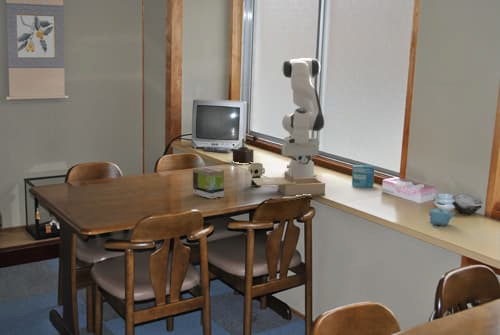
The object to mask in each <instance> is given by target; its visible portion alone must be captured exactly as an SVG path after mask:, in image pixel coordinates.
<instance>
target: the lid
mask: <svg viewBox="0 0 500 335" xmlns="http://www.w3.org/2000/svg"><path fill="white" fill-rule="evenodd" d="M251 180H253V181H254V182H255V183H256V184H257V185H258V186H259V187H261V186H278V185H286V184H296V183H295V182H294V176H292V175H291V174H290V173H288V172H285V171H284V176H280V177H279V176H278V177H261V178H252V177H251Z"/></svg>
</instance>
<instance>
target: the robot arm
mask: <svg viewBox="0 0 500 335" xmlns="http://www.w3.org/2000/svg"><path fill="white" fill-rule="evenodd" d="M281 70H282V73H283V76H284V77H285V78H288V79H289V78H290V88H291V89H292V101H293V104H294V105H295V106H297V107H298V108H296V109H295V110H294V112H292V113H288V114H285V115H284V116H283V118H282V121H281V124H282V127H283V129H284V130H285V132H286V131H287V133H288V134H289V135H288V136H285V137H284V138H283V141H284V142H282V147H281V155H282V156H283V157H291V160H290V162H289V163H288V164H287V165H286V170H285V171H284V173H285V172H288V173H290V174H291V175H292V176H294V178H311V177H317V173H315V163H314V161H312V160H313V159H312V158H313V157H314V156H318V155H319V154H320V149H319V145H320V140H319V139H318V138H315V137H314V138H310V132H312V131H313V132H314V131H315V132H319V131H321V130H322V129H323V128H324V126H325V118H324V115H323V110H322V107H321V102H320V96H319V94H318V93H319V92H318V90H317V88H316V87H315V86H314V85H313V84H312V82H311V81H312V79H314V78H316V77H318V76H319V73H320V71H321V64H320V61H319V60H318V59H316V58H295V59H286V60H285V61H284V62H283V64H282V68H281ZM311 78H312V79H311Z"/></svg>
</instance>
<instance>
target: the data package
mask: <svg viewBox="0 0 500 335" xmlns="http://www.w3.org/2000/svg"><path fill="white" fill-rule="evenodd" d="M351 170H352V175H351V186H352V187H353V188H366V189H367V188H374V182H375V178H374V177H375V167H374V166H373V165H365V164H364V165H363V164H354V165H353V166H352V169H351Z"/></svg>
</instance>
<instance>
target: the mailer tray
mask: <svg viewBox="0 0 500 335" xmlns="http://www.w3.org/2000/svg"><path fill="white" fill-rule="evenodd" d="M294 182H295V183H296V184H286V185H277V186H278V190H277V191H279V192H280V193H281V195H283V196H284V197H286V196H295V197H297V196H296V195H303V194H311V195H312V197H313V196H326V183H325V182H324V181H323V180H321V179H319V178H318V177H317V176H313V177H311V178H294ZM286 198H287V197H286Z"/></svg>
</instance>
